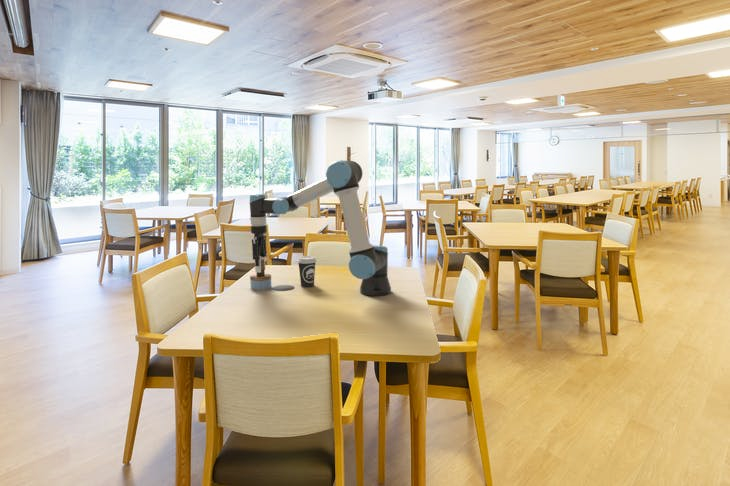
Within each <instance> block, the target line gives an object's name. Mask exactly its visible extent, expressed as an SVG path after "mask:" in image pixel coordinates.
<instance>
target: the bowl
mask: <svg viewBox="0 0 730 486" xmlns="http://www.w3.org/2000/svg"><path fill="white" fill-rule="evenodd" d="M249 280H250V279H249ZM250 289H251V290H255V291H261V290H262V291H263V290H265V291H266V290H269V289H272V278H271V279H269V280H264V281H253V280H250Z"/></svg>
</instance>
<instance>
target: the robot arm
mask: <svg viewBox="0 0 730 486" xmlns="http://www.w3.org/2000/svg"><path fill="white" fill-rule="evenodd" d="M362 178H363V169H362V166H361V165H360V164H359V163H357V162H356V161H354V160H342V159H341V160H337V161H334V162H332V163H330V165H329V166H328V167H327V169H326V172H325V177H324V178H323V179H320V180H318V181H317V182H314V183H312V184H310V185H308V186H306V187H304V188H302V189H300V190H298V191H296V192H294V193H292V194H290V195H288V196H283V197H276V198H275V197H274V198H273V197H272V198H270V197H269V198H267V197H266V194H264V193H252V194H250V195H249V209H250V210H249V211H250V217H249V221H250V232H251V234H253V235H254V236H253V239H251V243H252V245H251V247H252V250H251V251H252V260H254V265H255V266H254V269H255V270H254V271H255V272H254V273H256V272H259V273H261V260H264V271H266V257H267V235H265V234H266V233H267V214H268V215H270V214H271V215H286V214H287V213H289V212H294V211H297V210H298V209H299V208H301V207H303V206H304V205H305V206H306V205H307V204H309V203H311V202H314V201H315V200H317V199H320V198H322V197H325V196H326V195H329V194H330V193H333V194H334V195H336V196H338V199H339V200H338V201H339V204H340V207H341V208H340V209H341V211H342V212H341V213H342V217H343V220H344V224H345V227H346V232H347V236H348V239H349V243H350V250H349V251H348V254H349V257H350V258H349V259H350V260H349V262H348V270H349V272H350V273H351V275H352V276H353V277H355V278H356V279H359V280H361V284H360V286H359V293H360V294H362V295H365V296H370V297H381V296H382V297H383V296H387V295H390V294H392V287H391V283H390V281H389V277H388V268H389V267H388V265H389V264H388V260H389V257H388V255H389V252H388V247H387V246H385V245H373V244H372V243H371V242H370V240H369V236H368V232H367V228H366V223H365V219H364V216H363V211H362V206H361V203H360V199H359V195H358V191H359V189H360V185H359V183H360V181H361V180H362Z"/></svg>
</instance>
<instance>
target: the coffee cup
mask: <svg viewBox="0 0 730 486" xmlns="http://www.w3.org/2000/svg"><path fill="white" fill-rule="evenodd" d="M316 262H317V259H316V257H315V256H311V255H305V256H304V255H303V256H300V257H299V258H298V259H297V263H298V270H299V280H300V286H301V287H302V288H311V287H314V286H315V276H316V275H315V274H316Z"/></svg>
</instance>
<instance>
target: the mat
mask: <svg viewBox="0 0 730 486" xmlns="http://www.w3.org/2000/svg"><path fill="white" fill-rule="evenodd" d="M294 289H295V286H294V285H288V284H281V285H275V286H273V287H271V290H273V291H276V292H288V291H292V290H294Z"/></svg>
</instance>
